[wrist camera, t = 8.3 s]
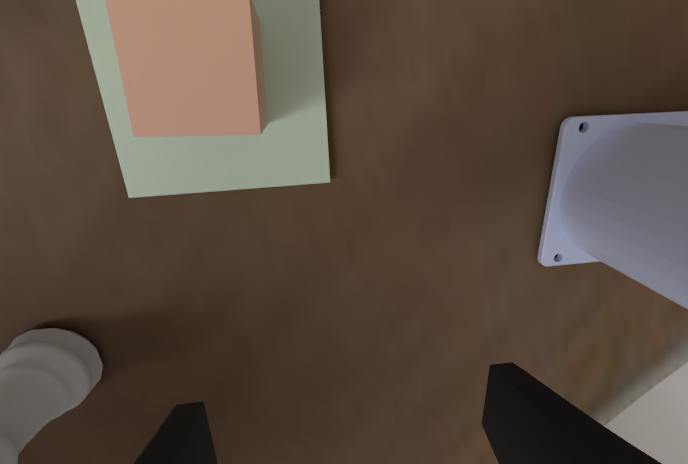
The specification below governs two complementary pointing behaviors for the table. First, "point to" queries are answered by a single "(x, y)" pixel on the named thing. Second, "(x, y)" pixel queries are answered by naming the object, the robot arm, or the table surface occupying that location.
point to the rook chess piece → (42, 383)
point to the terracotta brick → (190, 66)
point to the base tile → (229, 150)
